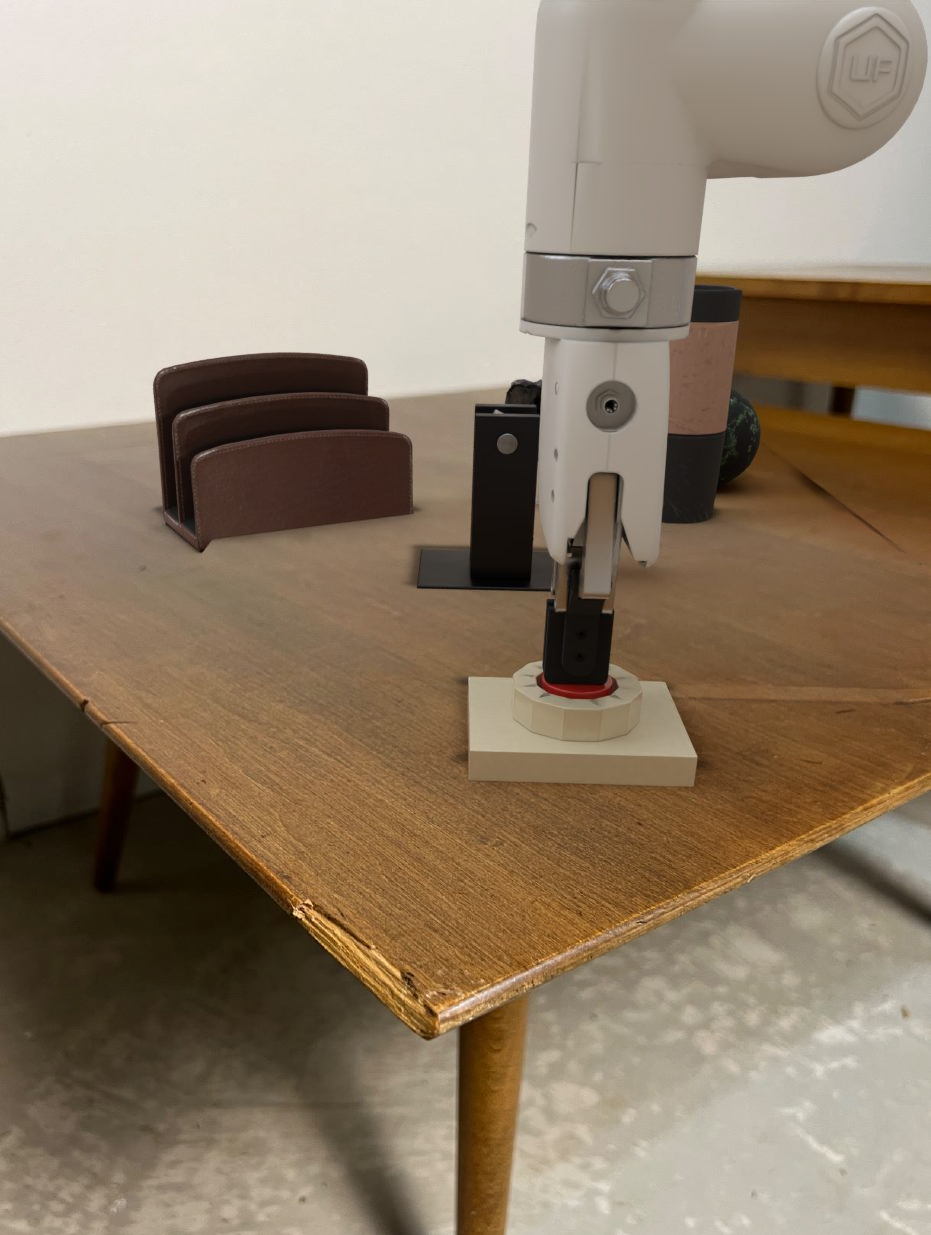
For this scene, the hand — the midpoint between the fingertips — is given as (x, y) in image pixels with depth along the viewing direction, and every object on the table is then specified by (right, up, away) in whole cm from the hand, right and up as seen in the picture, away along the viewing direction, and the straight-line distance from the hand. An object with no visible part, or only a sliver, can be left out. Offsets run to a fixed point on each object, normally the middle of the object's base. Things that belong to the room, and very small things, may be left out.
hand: (574, 677), depth 55 cm
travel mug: (+15, +14, +41) cm, 46 cm away
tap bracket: (-2, +7, +25) cm, 27 cm away
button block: (0, -3, +2) cm, 4 cm away
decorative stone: (+21, +20, +55) cm, 62 cm away
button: (0, -2, +1) cm, 2 cm away
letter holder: (-19, +14, +40) cm, 46 cm away
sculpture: (+15, +32, +82) cm, 89 cm away
